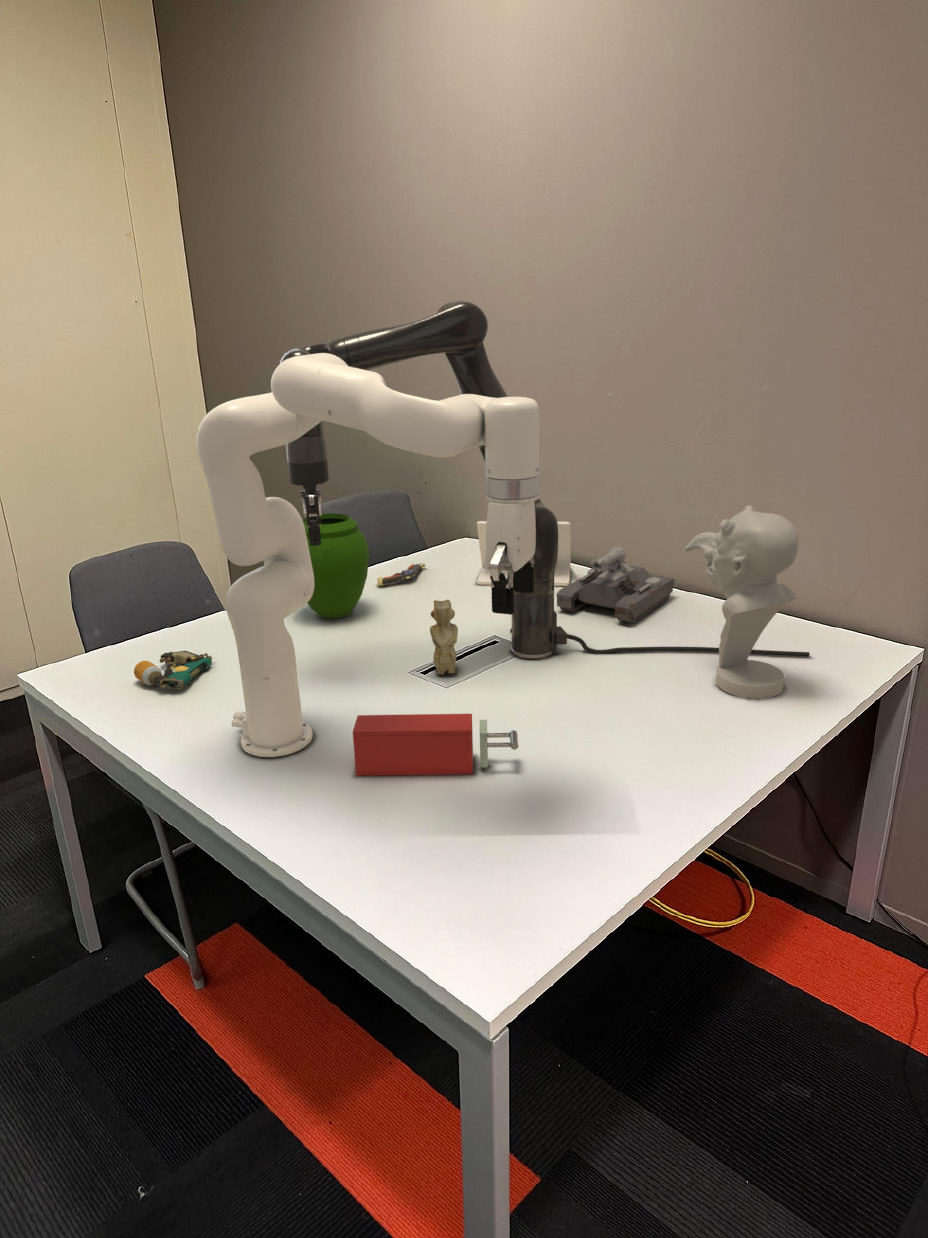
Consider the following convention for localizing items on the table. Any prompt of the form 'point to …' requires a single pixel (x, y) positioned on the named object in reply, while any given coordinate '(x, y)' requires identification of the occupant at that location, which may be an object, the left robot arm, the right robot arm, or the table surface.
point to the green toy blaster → (172, 669)
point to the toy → (616, 588)
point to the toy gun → (401, 575)
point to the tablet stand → (562, 562)
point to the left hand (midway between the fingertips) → (513, 602)
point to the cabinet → (413, 744)
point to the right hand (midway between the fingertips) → (314, 539)
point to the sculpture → (444, 637)
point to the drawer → (485, 745)
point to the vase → (338, 566)
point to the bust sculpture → (748, 593)
